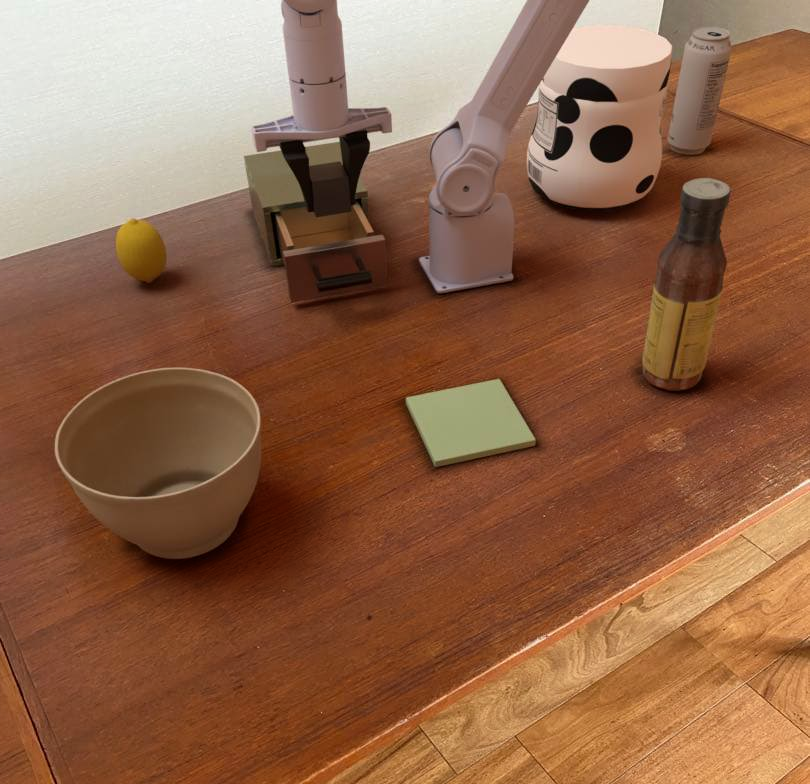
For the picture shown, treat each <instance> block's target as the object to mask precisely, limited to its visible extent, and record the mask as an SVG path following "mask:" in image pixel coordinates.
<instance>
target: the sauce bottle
mask: <svg viewBox="0 0 810 784" xmlns="http://www.w3.org/2000/svg"><path fill="white" fill-rule="evenodd" d="M730 195H731V187H730V186H729V184H727V183H726V182H723V181H722V180H718V179H716V178H711V177H700V178H694V179H691V180H689V181H687V182H685V183H684V184H683V185H682V188H681V193H680V198H679V203H680V210H679V211H680V212H679V217H678V223H677V225H676V227H675V233H674V235H673V236H672V237H671V238H670V240H669V241H668V242H667V244H665V246H664V247H663V248H662V249H661V251H660V253H659V255H658V263H657V271H656V276H655V280H654V283H653V290H652V296H651V301H650V308H649V315H648V322H647V327H646V333H645V340H644V345H643V351H642V356H641V357H642V359H641V361H642V364H641V368H642V373H643V376H644V379H645V380H646V381H647V383H648V384H649V385H652V386H654V387H656V388H658V389H662V390H665V391H669V392H679V391H686V390H690V389H691V388H694V387H695V386H697V384H698V383H699V382H700V380H701V379H702V376H703V373H704V370H705V367H706V365H707V361H708V356H709V352H710V351H709V350H710V347H711V343H712V338H713V333H714V328H715V325H716V319H717V315H718V310H719V306H720V301H721V297H722V293H723V286H724V285H723V283H724V276H725V273H726V268H727V265H728V260H727V257H726V254H725V250H724V247H723V244H722V239H721V233H722V229H721V228H722V223H723V219H724V215H725V210H726V208H727V207H728V205H729V203H730V198H731V197H730Z"/></svg>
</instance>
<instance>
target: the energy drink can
mask: <svg viewBox="0 0 810 784" xmlns="http://www.w3.org/2000/svg"><path fill="white" fill-rule="evenodd" d="M691 32H692V33H691V34H692V35H691V36H690V37H689V39H688V40H687V41H686V43H685V45H684V50H683V56H682V61H681V65H680V71H679V76H678V82H677V87H676V91H675V92H676V93H675V96H674V102H673V108H672V113H671V118H670V123H669V130H668V134H667V142H668V144H670V145H669V148H670V149H671V150H672V152H675V153H677V154H680V155H685V156H693V155H699V154H702V153H703V152H705V150H706V148H707V147H709V146H710V145H711V142H712V137H713V133H714V129H715V124H716V120H717V115H718V112H719V106H720V102H721V99H722V98H721V97H722V94H723V89H724V85H725V80H726V75H727V71H728V67H729V63H730V58H731V55H732V49H733V46H732V43H731V40H730V37H731V31H729V30H728V29H726V28H722V27H718V26H699V27H697V28H694V29H693V30H692V31H691Z"/></svg>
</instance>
